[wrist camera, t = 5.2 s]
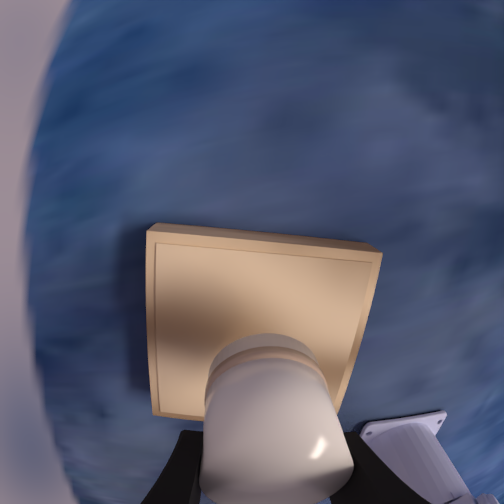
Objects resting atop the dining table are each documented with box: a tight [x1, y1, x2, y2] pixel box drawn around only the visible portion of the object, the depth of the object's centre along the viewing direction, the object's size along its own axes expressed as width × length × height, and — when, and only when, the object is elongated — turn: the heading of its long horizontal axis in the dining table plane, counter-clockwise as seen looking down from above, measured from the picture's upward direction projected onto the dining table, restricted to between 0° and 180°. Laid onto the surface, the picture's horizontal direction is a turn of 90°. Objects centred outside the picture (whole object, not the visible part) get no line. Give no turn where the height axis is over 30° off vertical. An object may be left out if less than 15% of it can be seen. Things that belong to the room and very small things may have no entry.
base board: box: [146, 223, 383, 421], centre depth 17 cm, size 11×11×2 cm
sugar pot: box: [199, 333, 354, 504], centre depth 10 cm, size 4×4×5 cm
